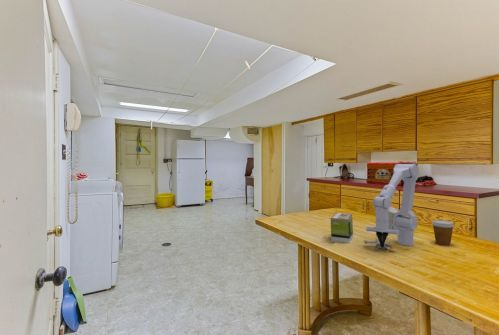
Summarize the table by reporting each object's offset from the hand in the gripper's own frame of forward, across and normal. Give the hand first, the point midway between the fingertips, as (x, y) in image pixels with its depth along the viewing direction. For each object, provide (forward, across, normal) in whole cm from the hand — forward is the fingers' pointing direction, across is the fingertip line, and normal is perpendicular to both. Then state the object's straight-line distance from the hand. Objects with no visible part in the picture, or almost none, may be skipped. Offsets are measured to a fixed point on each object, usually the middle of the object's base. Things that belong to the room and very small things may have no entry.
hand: (382, 246), depth 124 cm
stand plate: (+3, -1, +4) cm, 5 cm away
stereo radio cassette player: (+3, +2, +50) cm, 50 cm away
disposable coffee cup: (+3, +27, +29) cm, 39 cm away
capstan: (+1, 0, +3) cm, 3 cm away
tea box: (+3, -22, +9) cm, 24 cm away
